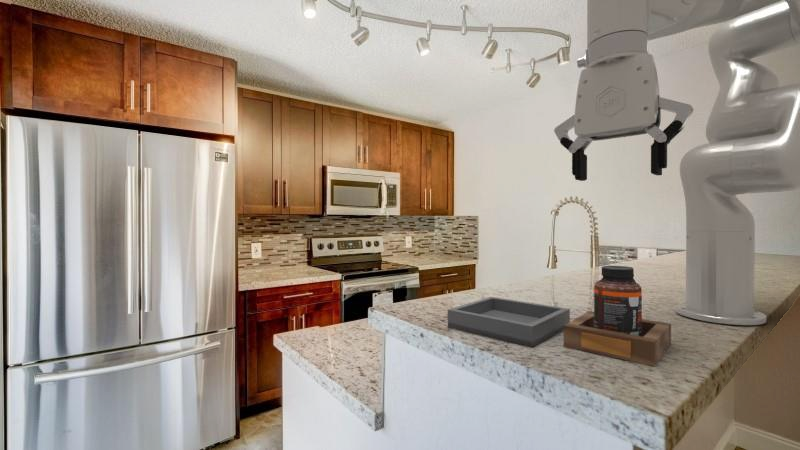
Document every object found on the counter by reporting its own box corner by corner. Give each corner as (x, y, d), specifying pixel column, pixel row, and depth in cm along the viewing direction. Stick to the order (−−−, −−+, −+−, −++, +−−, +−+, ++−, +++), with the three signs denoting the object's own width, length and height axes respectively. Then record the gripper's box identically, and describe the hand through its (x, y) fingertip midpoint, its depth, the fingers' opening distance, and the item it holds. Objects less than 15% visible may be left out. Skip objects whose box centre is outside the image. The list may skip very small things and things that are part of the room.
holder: (589, 329, 63) (589, 311, 63) (671, 344, 55) (671, 323, 55) (562, 346, 54) (562, 325, 54) (653, 367, 47) (653, 342, 47)
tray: (491, 311, 75) (491, 296, 75) (569, 326, 64) (569, 308, 64) (447, 327, 65) (447, 309, 65) (532, 347, 54) (532, 326, 54)
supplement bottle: (649, 354, 51) (649, 270, 51) (601, 351, 52) (601, 269, 52) (632, 339, 57) (632, 264, 57) (589, 337, 58) (589, 264, 58)
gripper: (545, 66, 57) (545, 180, 58) (688, 25, 45) (687, 169, 46) (564, 79, 63) (564, 183, 63) (697, 45, 51) (696, 174, 51)
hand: (616, 177), depth 54 cm, fingers open, 9 cm apart
